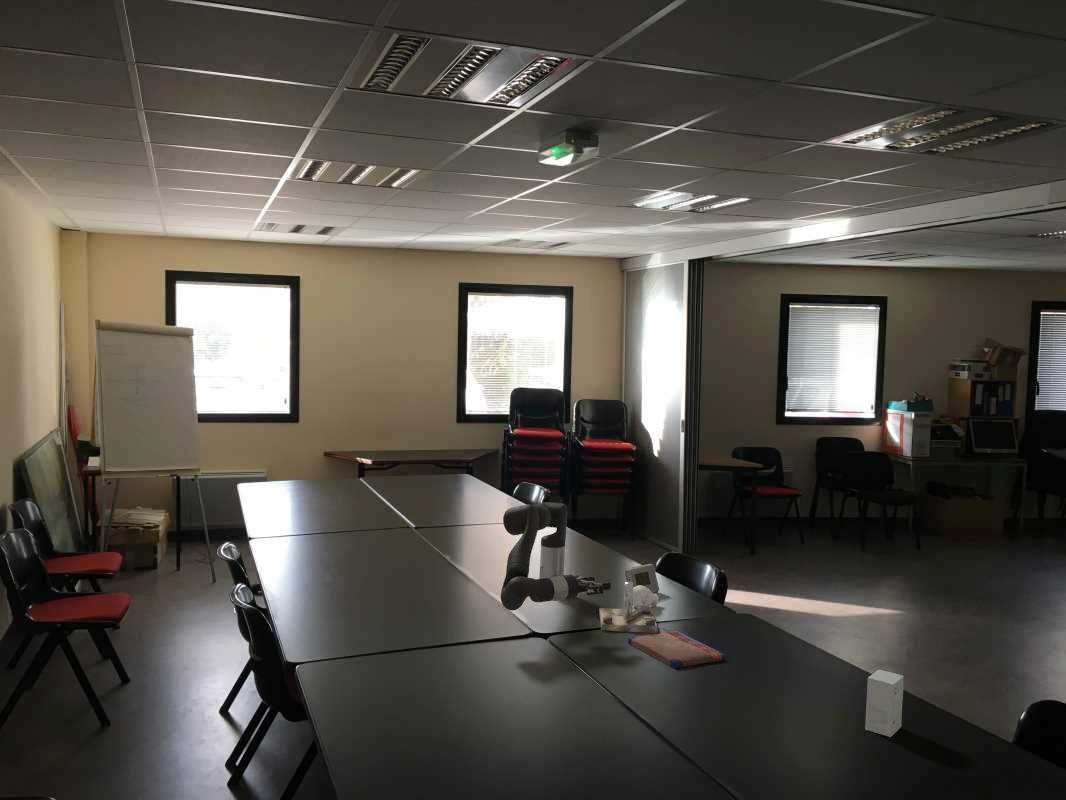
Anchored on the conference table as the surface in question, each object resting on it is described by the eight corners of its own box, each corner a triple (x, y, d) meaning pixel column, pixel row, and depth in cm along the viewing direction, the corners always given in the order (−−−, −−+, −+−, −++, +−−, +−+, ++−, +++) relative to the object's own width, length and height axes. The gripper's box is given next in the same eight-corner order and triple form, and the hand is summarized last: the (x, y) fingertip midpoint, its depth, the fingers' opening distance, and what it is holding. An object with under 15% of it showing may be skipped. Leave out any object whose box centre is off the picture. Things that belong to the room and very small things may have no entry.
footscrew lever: (640, 607, 295) (641, 572, 295) (653, 610, 293) (655, 574, 292) (618, 619, 281) (619, 582, 280) (632, 622, 278) (633, 585, 278)
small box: (875, 719, 214) (878, 668, 214) (901, 727, 210) (904, 675, 210) (864, 729, 208) (867, 677, 208) (891, 737, 204) (894, 684, 204)
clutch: (675, 672, 244) (727, 662, 254) (676, 655, 244) (728, 646, 253) (620, 641, 269) (669, 633, 278) (620, 626, 269) (670, 618, 278)
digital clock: (631, 600, 314) (633, 571, 313) (616, 594, 321) (617, 566, 321) (665, 595, 323) (666, 567, 322) (649, 589, 330) (650, 561, 330)
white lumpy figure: (629, 584, 304) (653, 582, 311) (626, 607, 304) (650, 605, 311) (641, 588, 299) (665, 587, 306) (638, 611, 299) (662, 610, 306)
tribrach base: (601, 630, 277) (601, 619, 277) (599, 613, 295) (599, 603, 295) (657, 632, 277) (657, 622, 277) (651, 616, 295) (651, 606, 295)
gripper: (574, 581, 259) (616, 576, 268) (548, 571, 271) (589, 566, 280) (573, 605, 259) (615, 599, 268) (547, 594, 271) (588, 589, 280)
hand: (601, 582), depth 274 cm, fingers open, 8 cm apart
